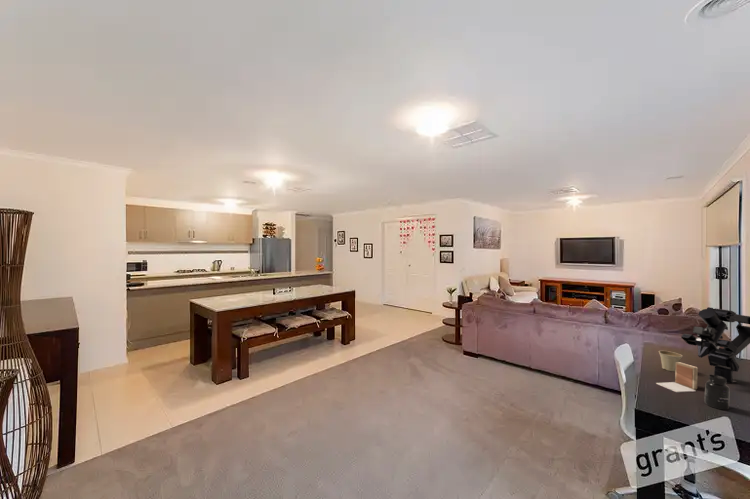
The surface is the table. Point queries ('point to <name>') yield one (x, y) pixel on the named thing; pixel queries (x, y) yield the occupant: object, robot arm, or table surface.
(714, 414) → the table surface
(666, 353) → the flower pot
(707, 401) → the supplement bottle
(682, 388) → the felt mat
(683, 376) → the maple tile
